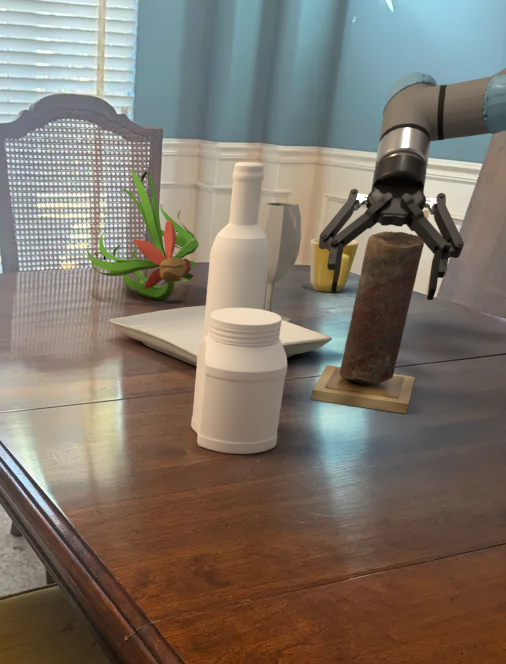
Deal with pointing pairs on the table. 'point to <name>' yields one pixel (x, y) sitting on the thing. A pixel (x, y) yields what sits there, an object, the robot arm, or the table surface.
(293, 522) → the table surface
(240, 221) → the bottle
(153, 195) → the decorative plant
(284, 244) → the wineglass
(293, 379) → the table surface
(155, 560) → the table surface
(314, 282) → the mug
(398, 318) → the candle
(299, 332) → the square plate
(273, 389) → the jar
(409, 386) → the board
